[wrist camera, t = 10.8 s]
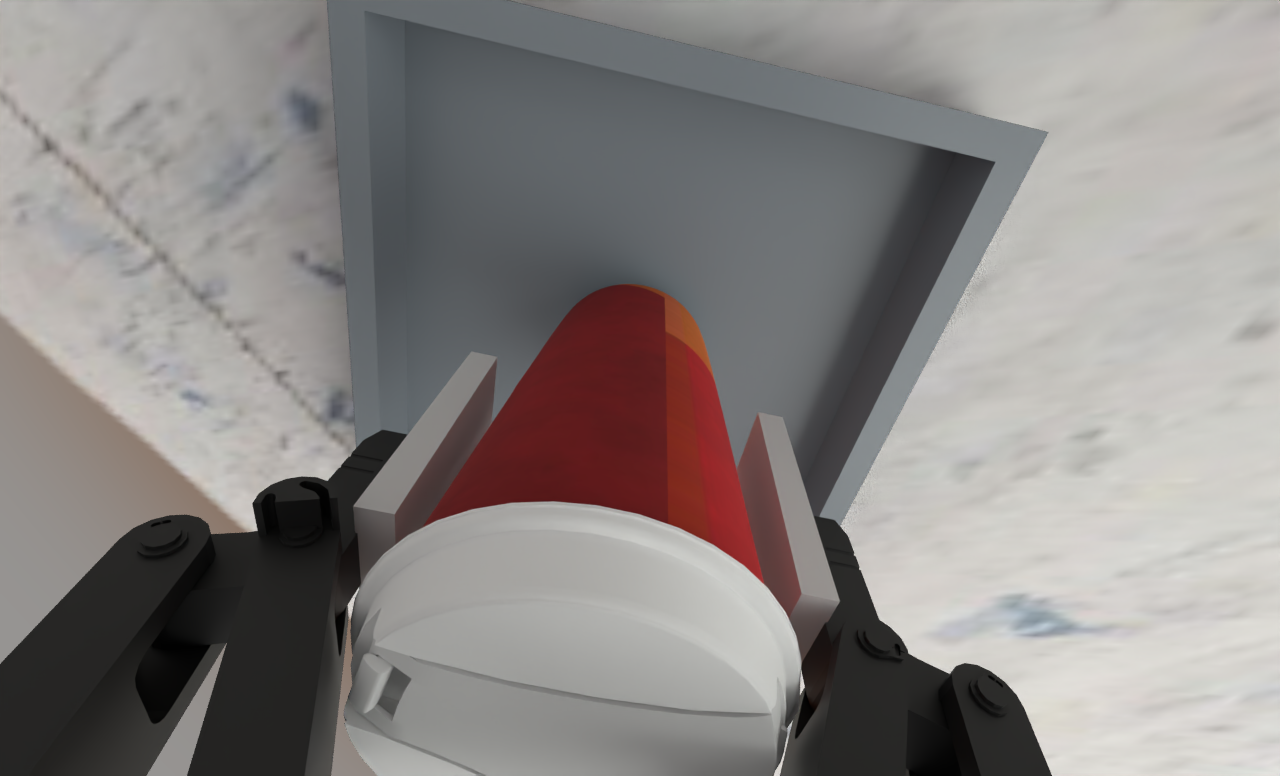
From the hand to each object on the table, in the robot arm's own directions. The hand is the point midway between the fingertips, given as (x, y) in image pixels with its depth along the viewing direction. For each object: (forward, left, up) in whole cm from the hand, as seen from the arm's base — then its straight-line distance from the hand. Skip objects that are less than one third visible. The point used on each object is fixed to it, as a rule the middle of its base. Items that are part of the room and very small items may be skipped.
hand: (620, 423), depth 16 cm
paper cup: (0, 0, -5) cm, 5 cm away
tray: (0, 0, -7) cm, 7 cm away
